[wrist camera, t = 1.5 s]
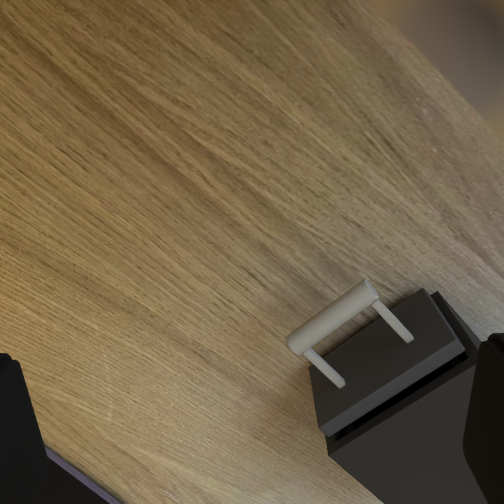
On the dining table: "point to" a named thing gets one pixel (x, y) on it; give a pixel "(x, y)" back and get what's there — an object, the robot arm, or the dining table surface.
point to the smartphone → (68, 485)
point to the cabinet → (418, 437)
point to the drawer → (374, 356)
